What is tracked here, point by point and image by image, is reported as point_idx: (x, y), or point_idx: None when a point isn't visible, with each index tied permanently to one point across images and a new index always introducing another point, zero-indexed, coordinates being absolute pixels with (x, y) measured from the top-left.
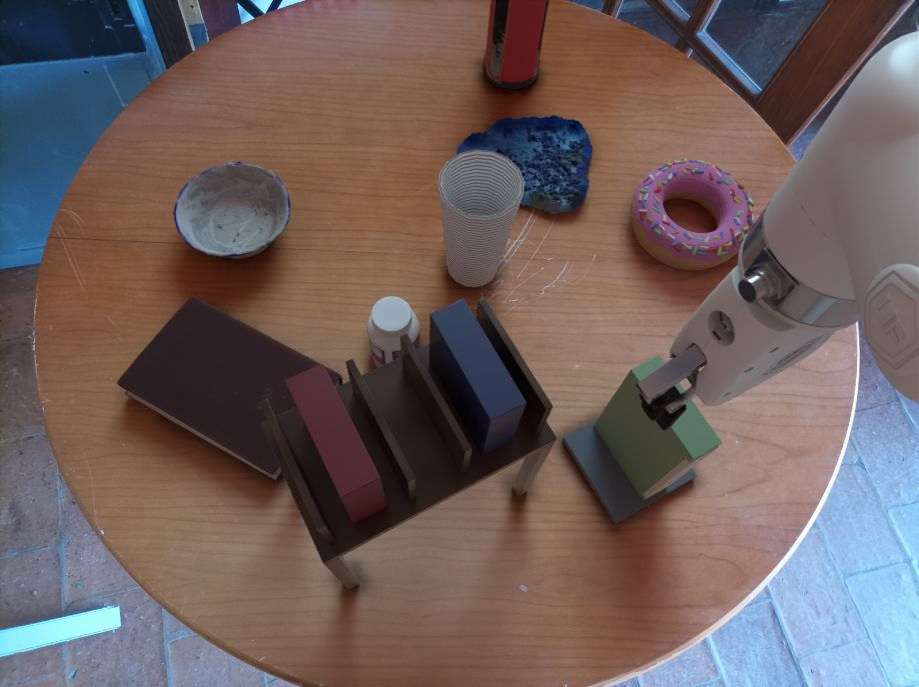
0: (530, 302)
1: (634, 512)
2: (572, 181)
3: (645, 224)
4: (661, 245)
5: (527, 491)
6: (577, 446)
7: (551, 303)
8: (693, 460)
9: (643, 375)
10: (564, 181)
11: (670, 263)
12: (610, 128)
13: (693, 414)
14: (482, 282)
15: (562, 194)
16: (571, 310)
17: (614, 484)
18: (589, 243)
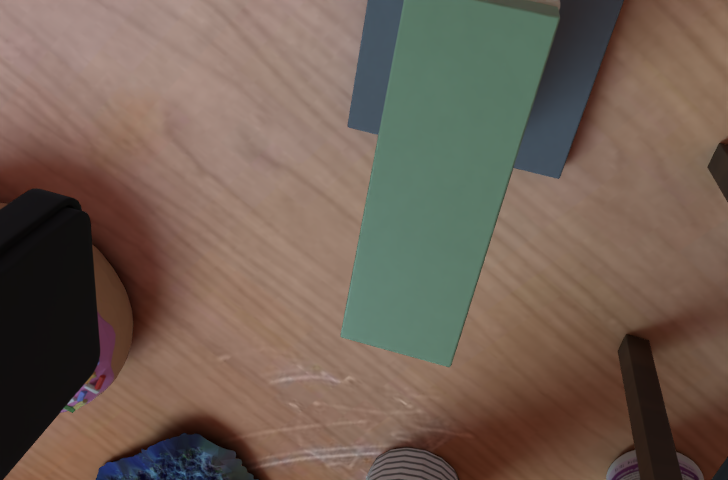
0: (381, 381)
1: None
2: (167, 467)
3: (103, 367)
4: (101, 321)
5: (721, 144)
6: (553, 144)
7: (350, 356)
8: (541, 4)
9: (435, 333)
10: (179, 474)
11: (106, 273)
12: (53, 464)
13: (407, 140)
14: (429, 464)
15: (197, 466)
16: (329, 325)
17: (564, 20)
18: (212, 377)
